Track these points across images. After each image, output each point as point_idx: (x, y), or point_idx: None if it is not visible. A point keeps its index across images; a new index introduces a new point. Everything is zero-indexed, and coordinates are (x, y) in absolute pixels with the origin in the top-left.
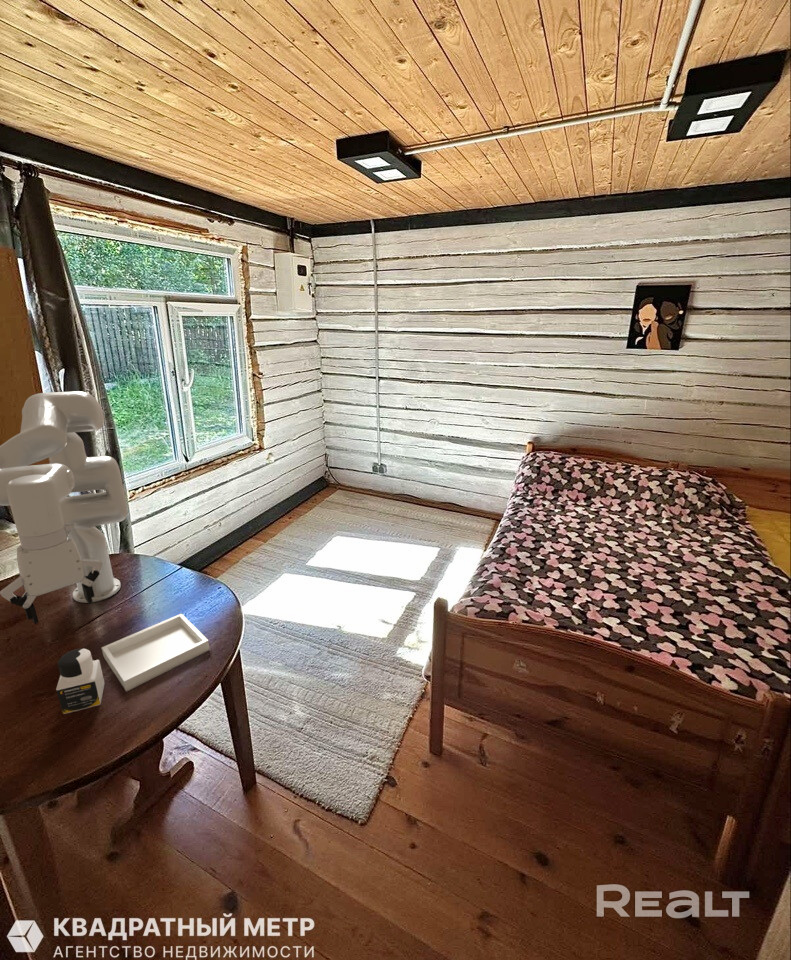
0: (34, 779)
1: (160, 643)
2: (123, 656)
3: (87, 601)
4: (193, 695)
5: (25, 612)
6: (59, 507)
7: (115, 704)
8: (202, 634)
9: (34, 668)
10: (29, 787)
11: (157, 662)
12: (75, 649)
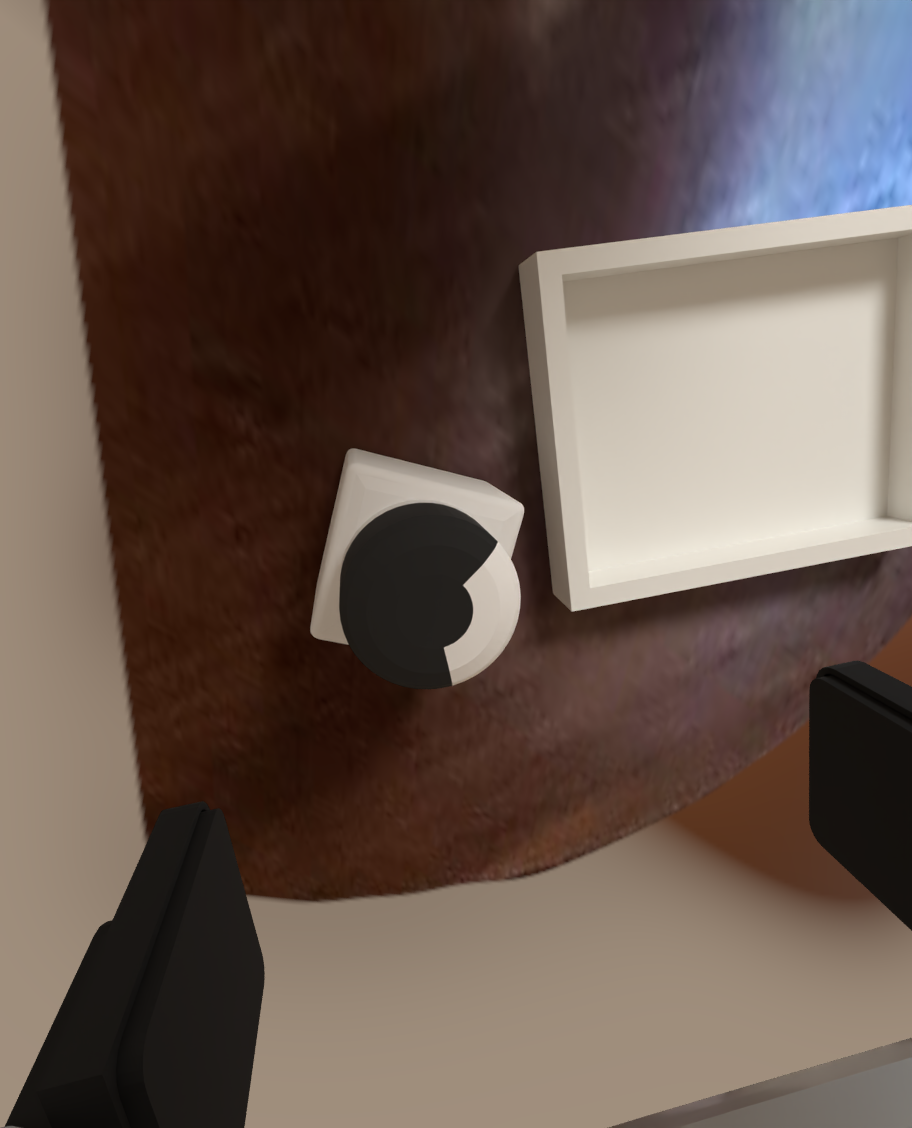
0: None
1: (764, 350)
2: (599, 341)
3: (817, 790)
4: (739, 749)
5: (72, 991)
6: None
7: None
8: None
9: (188, 108)
10: None
11: (719, 564)
12: (449, 534)
